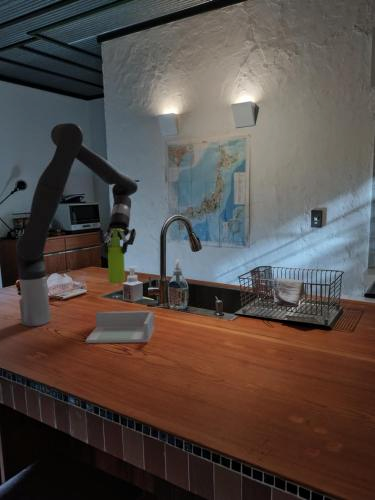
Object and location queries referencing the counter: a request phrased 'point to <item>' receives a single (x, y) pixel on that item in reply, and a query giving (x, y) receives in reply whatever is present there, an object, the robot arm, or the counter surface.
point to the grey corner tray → (122, 327)
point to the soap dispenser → (116, 259)
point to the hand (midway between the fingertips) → (114, 252)
